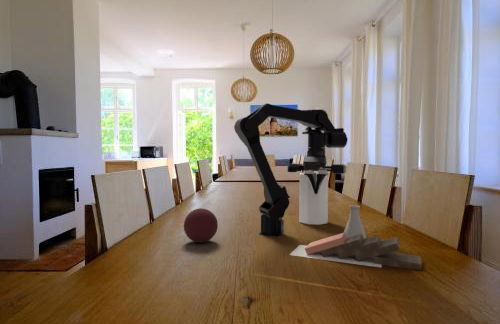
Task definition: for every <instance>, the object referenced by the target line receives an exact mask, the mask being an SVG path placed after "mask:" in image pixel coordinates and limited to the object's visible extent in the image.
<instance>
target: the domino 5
mask: <svg viewBox="0 0 500 324" xmlns="http://www.w3.org/2000/svg"><path fill="white" fill-rule="evenodd" d="M374 263H375V264H381V265H382V266H388V267H397V268H402V269H409V270H410V269H411V270H416V271H422V260H421V256H420V255H414V254H413V255H412V254H407V253H401V252H400V253H399V252H396V251H393V252H390V253H386V254H382V255H379V256H375V257H374Z"/></svg>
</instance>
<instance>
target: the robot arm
mask: <svg viewBox="0 0 500 324" xmlns="http://www.w3.org/2000/svg"><path fill="white" fill-rule="evenodd" d="M268 118H270V119H276V120H283V121H290V122H295V123H298V124H301V125H303V126H304V127H306V128H305V129H304V130H303V131H302V133H301V134H302V135H307V152H306V156H305V158H304V159H303V163H288V166H287V173H297V172H302V171H303V173H304V175H307V176H308V178H309V180H310V182H311V184H312V187H313V190H314V193H315V194H318V191H319V189H320V186H321V183H322V181H323V179H324V177H325V176H326V175H328V176H329V172H331V173H333V174H339V175H340V174H341V175H342V174H346V173H347V165H345V164H343V163H342V164H341V163H337V164H336V163H335V164H331V165H327V156H326V148H328V149H329V148H330V149H342V148H343V149H344V148H345V147H346V146H347V144H348V137H347V134H346V132H345V129H344V128H343V127H339V128H336V127H335V126H334V125H333V123H332V122H331V121H332V120H330V118H329V115H328V113H327V111H326V110H324V109H297V108H292V107H286V106H280V105H274V104H270V103H263V104H262V105H260V106H259V107H258V108H256V109H255V110H253V111H252V112H251V113H250V114H247V116H245V117H241V118H239V119H237V120H236V121H235V123H234V127H233V128H234V132H235V134H236V135H237V137H238V138H239V139H240V141H241V142H242V143H243V144H244V146H246V148H247V151H248V153H249V156H250V158H251V160H252V163H253V165H254V167H255V170H256V172H257V175H258V178H259V179H260V181H261V183H262V187H263V196H264V202H262V203H261V204H260V206H259V207H258V211H259V213H260V232H259V233H258V235H260V236H269V237H279V236H281V235H283V234H284V232H285V231H284V228H285V227H284V225H285V221H284V219H283V218H284V216H285V213H286V210H287V209H288V208H289V207H290V206H289V205H290V198H291V196H290V195H289V194H288V191H287V187H286V185H281V184H279V183H278V182H277V180H276V178H275V176H274V173H273V170H272V167H271V166H270V163H269V161H268V159H267V156H266V152H265V151H264V148H263V146H262V144H261V143H262V142H261V134H260V133H261V132H260V129H259V126H261V125H262V124H263V123H264V122H265V121H266V120H267V119H268ZM316 173H319V174H317V181H316Z"/></svg>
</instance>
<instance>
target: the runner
mask: <svg viewBox="0 0 500 324" xmlns="http://www.w3.org/2000/svg"><path fill="white" fill-rule="evenodd" d="M307 246H308V245H306V244H299V245H298V246H297V247H296V248H295V249H294V250H293V251H291V253H290V254H289V256H293V257H294V256H295V257H299V258H300V257H301V258H308V259H314V260H315V259H316V260H324V261H331V262H337V263H344V264H345V263H346V264H352V265H361V266H367V267H374V268H382V266H383V265H381V264H375V263H374V257H371V258H368V259H364V260H360V261H357V259H356V256H355V255H353V256H349V257H346V258H342V259H340V258H339V255H338V253H335V254H331V255H328V256H324V257H323V255H322V253H321V251H318V252H315V253H311V254H308V255H307V253H306V251H305V248H306V247H307Z"/></svg>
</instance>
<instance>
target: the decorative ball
mask: <svg viewBox="0 0 500 324" xmlns="http://www.w3.org/2000/svg"><path fill="white" fill-rule="evenodd" d="M218 226H219V225H218V220H217V217H216V215H215V214H214V213H213V211H211V210H209V209H207V208H202V207H199V208H195V209H192V211H190V212H189V213H188V214H187V215H186V217H185V219H184V222H183V231H184V233H185V235H186V237H187V238H188V239H189V240H191V242H195V243H199V244H202V243H206V242H209V241H210V240H212V239H213V238H214V236H215V235H216V234H217V231H218V228H219V227H218Z"/></svg>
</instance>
